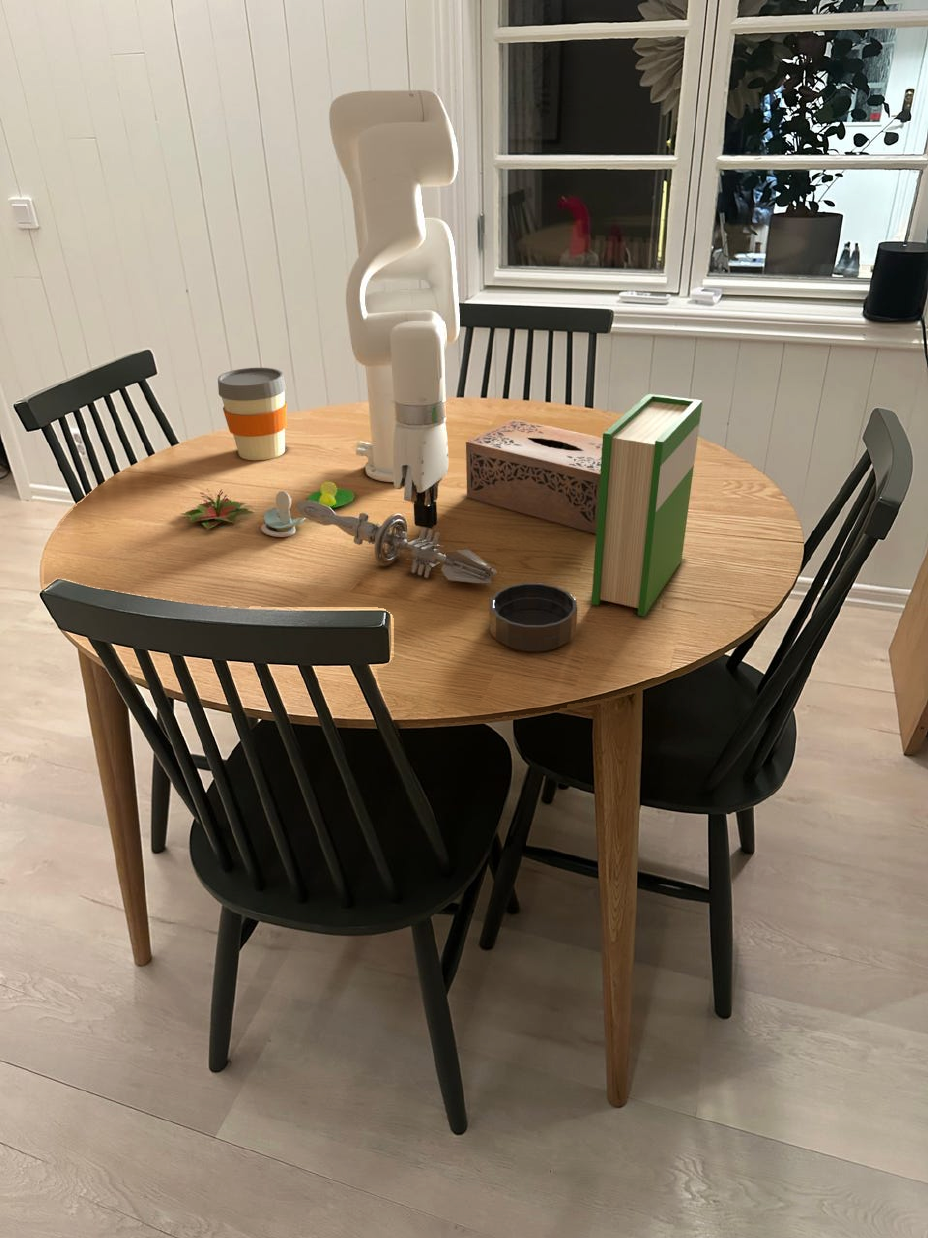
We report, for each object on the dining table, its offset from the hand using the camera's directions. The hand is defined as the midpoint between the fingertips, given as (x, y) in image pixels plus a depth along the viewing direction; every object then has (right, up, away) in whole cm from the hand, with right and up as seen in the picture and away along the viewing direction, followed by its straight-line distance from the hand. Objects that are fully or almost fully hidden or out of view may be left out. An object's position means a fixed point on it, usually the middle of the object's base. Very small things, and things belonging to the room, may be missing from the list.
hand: (426, 525), depth 133 cm
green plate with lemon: (-17, +5, +13) cm, 22 cm away
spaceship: (-5, -7, -7) cm, 11 cm away
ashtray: (+15, -16, -24) cm, 33 cm away
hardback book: (+31, -10, -13) cm, 35 cm away
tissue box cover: (+21, +5, +11) cm, 24 cm away
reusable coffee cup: (-34, +18, +34) cm, 51 cm away
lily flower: (-35, +2, +8) cm, 36 cm away
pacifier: (-23, -1, +3) cm, 24 cm away
